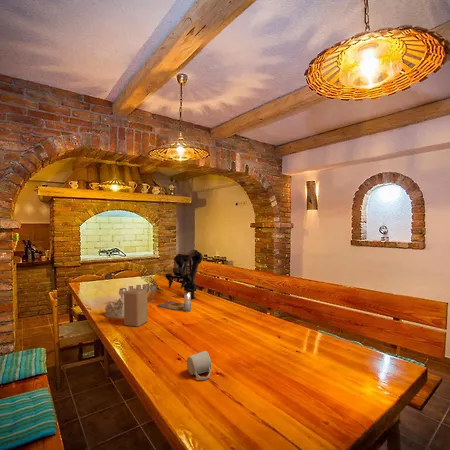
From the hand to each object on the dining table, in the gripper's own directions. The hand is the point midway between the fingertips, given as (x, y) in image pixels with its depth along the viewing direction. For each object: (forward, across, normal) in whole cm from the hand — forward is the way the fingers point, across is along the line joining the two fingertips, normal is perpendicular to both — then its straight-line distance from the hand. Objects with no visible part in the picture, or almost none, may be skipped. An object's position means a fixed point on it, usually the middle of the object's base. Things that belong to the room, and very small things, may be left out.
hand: (175, 288), depth 204 cm
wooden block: (+34, -8, -18) cm, 39 cm away
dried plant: (-9, -44, +33) cm, 55 cm away
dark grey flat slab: (+8, -3, +12) cm, 15 cm away
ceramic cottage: (+26, -29, -8) cm, 39 cm away
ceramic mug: (+61, +51, -50) cm, 94 cm away
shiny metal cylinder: (+14, +12, +6) cm, 19 cm away
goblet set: (+8, -33, +12) cm, 36 cm away
